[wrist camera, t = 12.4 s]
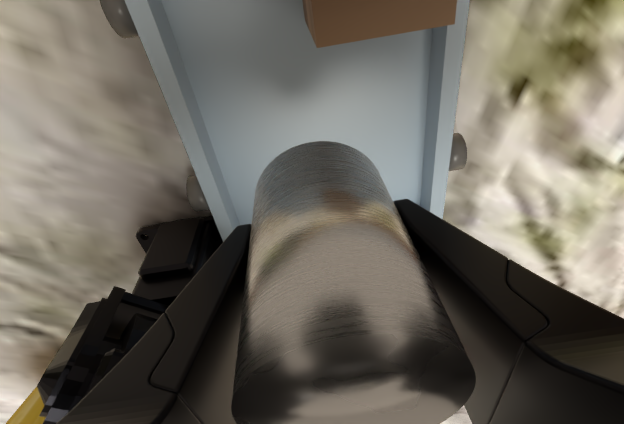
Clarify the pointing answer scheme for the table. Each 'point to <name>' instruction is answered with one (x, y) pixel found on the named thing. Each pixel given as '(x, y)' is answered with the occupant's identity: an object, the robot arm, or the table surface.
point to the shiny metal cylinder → (340, 303)
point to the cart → (298, 96)
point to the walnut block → (373, 18)
